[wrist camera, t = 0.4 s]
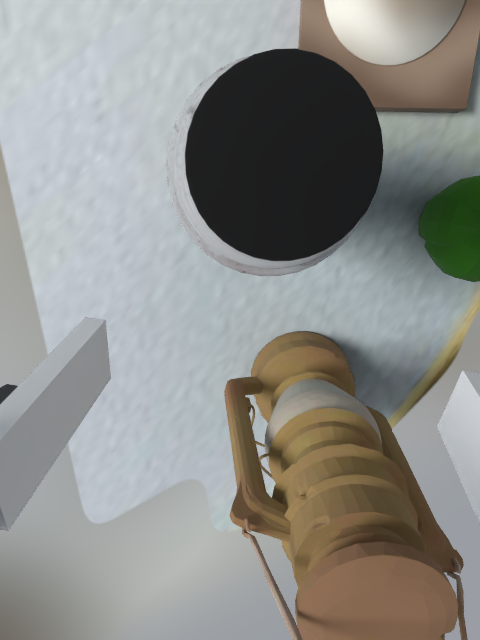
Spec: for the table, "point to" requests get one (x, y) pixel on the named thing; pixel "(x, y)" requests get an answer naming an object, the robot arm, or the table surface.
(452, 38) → the docking mat
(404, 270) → the table surface
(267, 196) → the thermos bottle
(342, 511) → the lantern
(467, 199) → the bell pepper
